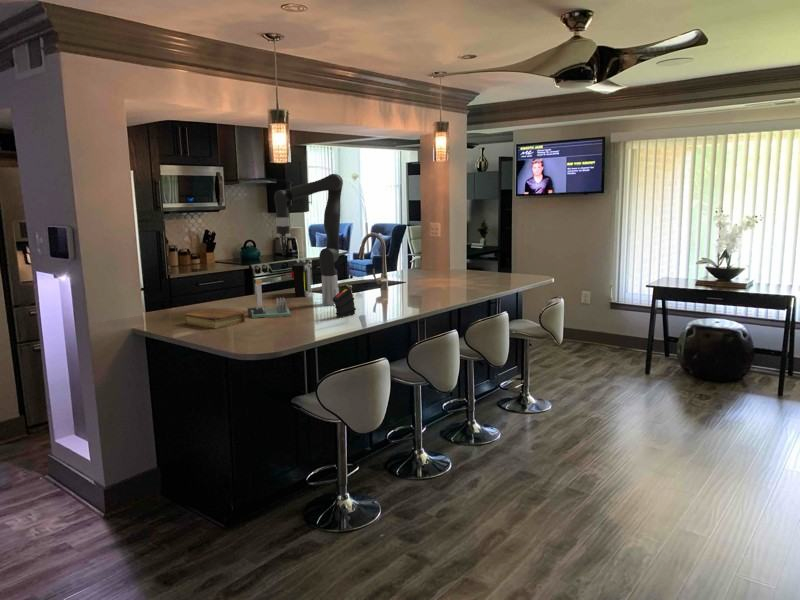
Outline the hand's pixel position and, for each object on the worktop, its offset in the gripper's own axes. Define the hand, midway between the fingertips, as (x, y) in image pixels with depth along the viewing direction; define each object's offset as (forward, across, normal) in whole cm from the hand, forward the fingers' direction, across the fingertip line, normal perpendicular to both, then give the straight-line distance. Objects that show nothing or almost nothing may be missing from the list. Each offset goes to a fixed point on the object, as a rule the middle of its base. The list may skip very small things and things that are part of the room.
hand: (284, 255), depth 352 cm
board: (+29, +26, -10) cm, 40 cm away
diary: (+30, +44, -38) cm, 65 cm away
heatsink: (+29, +26, -12) cm, 40 cm away
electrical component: (+29, -32, +13) cm, 45 cm away
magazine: (+29, +45, +28) cm, 60 cm away
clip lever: (+27, +29, -17) cm, 43 cm away
